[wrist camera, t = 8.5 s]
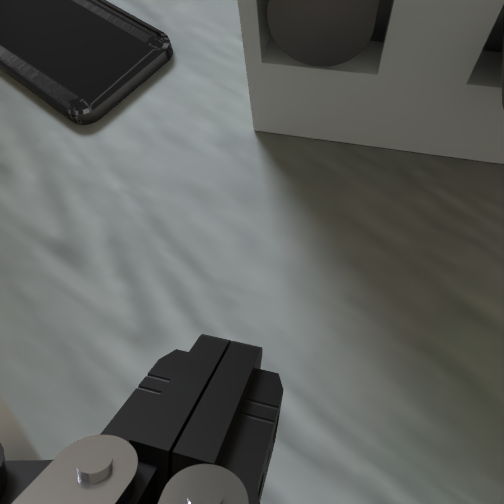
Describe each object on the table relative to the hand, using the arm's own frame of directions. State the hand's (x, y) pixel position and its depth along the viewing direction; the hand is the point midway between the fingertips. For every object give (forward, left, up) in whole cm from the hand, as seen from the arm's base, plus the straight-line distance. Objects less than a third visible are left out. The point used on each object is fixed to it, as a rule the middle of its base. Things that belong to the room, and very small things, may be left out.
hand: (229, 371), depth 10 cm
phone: (-11, +23, -8) cm, 27 cm away
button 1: (+5, +14, -2) cm, 15 cm away
